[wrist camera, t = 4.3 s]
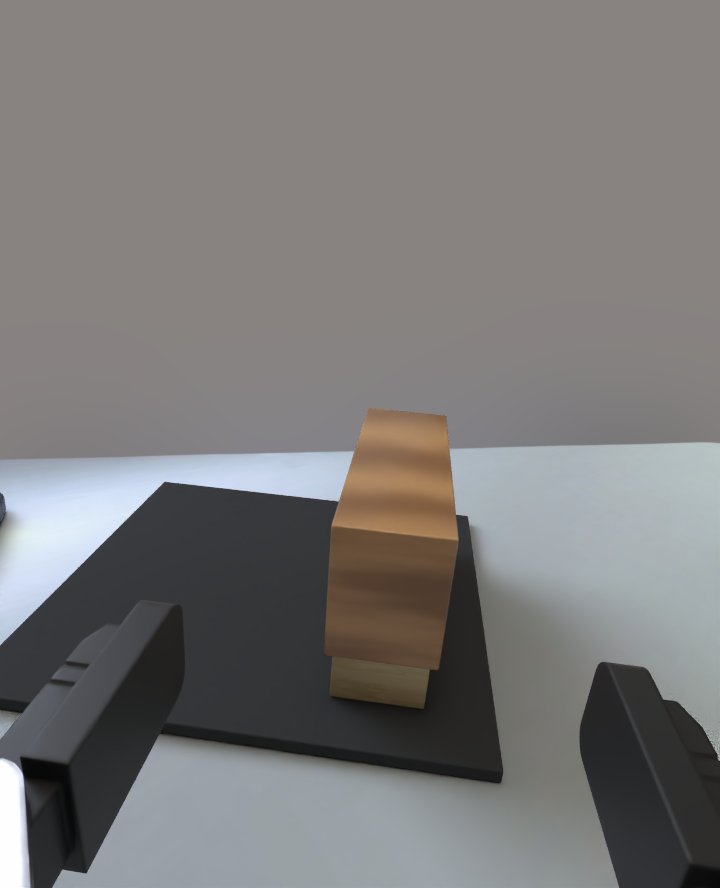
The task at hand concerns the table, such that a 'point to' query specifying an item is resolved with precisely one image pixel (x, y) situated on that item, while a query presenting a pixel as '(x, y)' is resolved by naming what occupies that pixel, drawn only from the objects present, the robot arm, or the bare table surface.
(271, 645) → the mat
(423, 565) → the tall wood grain block
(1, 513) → the smartphone
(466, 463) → the table surface
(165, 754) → the table surface
